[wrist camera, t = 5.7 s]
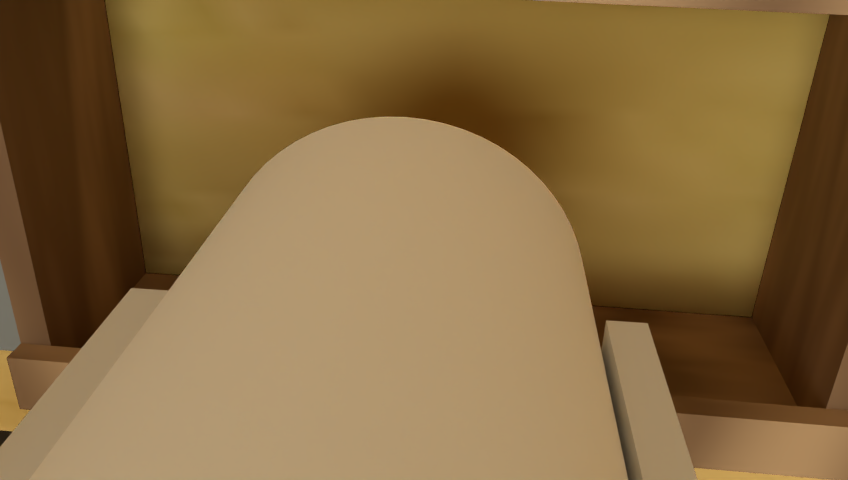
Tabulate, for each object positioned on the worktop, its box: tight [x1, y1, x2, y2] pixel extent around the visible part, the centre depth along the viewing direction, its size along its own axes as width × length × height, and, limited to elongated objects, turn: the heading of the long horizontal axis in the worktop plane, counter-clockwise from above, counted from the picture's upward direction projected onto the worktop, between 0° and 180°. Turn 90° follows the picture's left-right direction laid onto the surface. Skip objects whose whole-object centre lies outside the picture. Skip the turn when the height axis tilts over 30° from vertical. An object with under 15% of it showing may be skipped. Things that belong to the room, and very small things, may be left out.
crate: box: [0, 0, 848, 480], centre depth 24 cm, size 26×16×8 cm, turn 88°
